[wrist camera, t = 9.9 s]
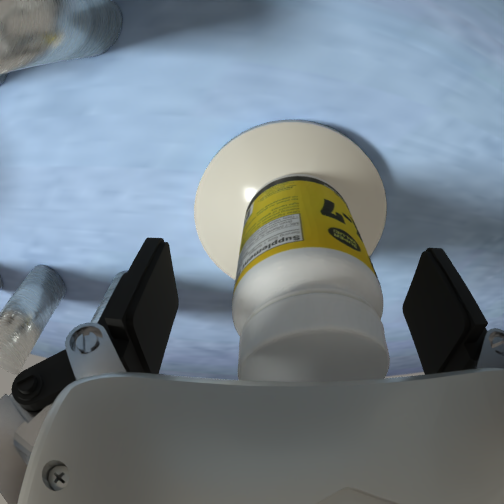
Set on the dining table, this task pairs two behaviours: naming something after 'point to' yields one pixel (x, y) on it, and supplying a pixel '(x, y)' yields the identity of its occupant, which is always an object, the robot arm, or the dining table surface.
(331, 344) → the supplement bottle
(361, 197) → the coaster
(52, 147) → the dining table surface
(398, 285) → the dining table surface
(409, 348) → the dining table surface
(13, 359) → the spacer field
